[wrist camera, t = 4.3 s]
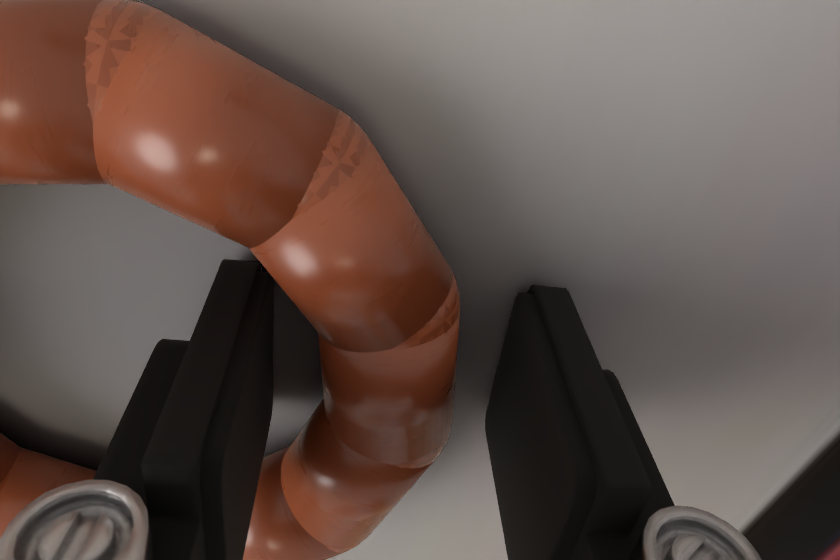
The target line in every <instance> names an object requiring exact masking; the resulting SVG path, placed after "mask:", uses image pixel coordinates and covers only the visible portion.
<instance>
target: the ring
mask: <svg viewBox="0 0 840 560" xmlns="http://www.w3.org/2000/svg"><path fill="white" fill-rule="evenodd" d="M0 184H110V185H112V186H114V187H116V188H119V189H121V190H123V191H125V192H127V193H130V194H132V195H134V196H136V197H138V198H141V199H143V200H145V201H147V202H149V203H152V204H154V205H156V206H158V207H160V208H163V209H165V210H167V211H169V212H171V213H174V214H176V215H178V216H180V217H182V218H185V219H187V220H189V221H191V222H193V223H196V224H198V225H200V226H202V227H204V228H207V229H209V230H211V231H213V232H215V233H218V234H220V235H222V236H224V237H226V238H229V239H231V240H233V241H235V242H237V243H240V244H242V245H244V246H246V247H248V248H249V249H250V250H251V252H252V253H253V254H254V255H255V256H256V258H257V259H258V260H259V261H260V262H261V264H262V265H263V266H264V267H265V269H266V270H267V271H268V272H269V273H270V275H271V276H272V277H273V278H274V279H275V281H276V282H277V283H278V284H279V286H280V287H281V288H282V289H283V290H284V292H285V293H286V294H287V295H288V296H289V298H290V299H291V300H292V301H293V302H294V304H295V305H296V306H297V307H298V309H299V310H300V311H301V312H302V313H303V315H304V316H305V317H306V318H307V319H308V321H309V322H310V323H311V324H312V325H313V327H314V328H315V329H316V330H317V332H318V334H319V346H320V359H321V371H322V383H323V395H324V399H323V400H322V401H321V403H320V404H319V406H318V407H317V409H316V410H315V411H314V413H313V414H312V416H311V417H310V419H309V420H308V421H307V423H306V424H305V426H304V427H303V429H302V430H301V431H300V433H299V434H298V436H297V437H296V439H295V440H294V442H293V443H292V444H291V446H289V447H286V448H284V449H282V450H280V451H277V452H275V453H273V454H270V455H268V456H266V457H264V458H263V461H262V466H261V471H260V476H259V481H258V486H257V491H256V496H255V501H254V506H253V511H252V516H251V521H250V526H249V531H248V536H247V541H246V546H245V551H244V556H243V560H325V559H328V558H331V557H333V556H336V555H338V554H341V553H343V552H346V551H348V550H350V549H352V548H354V547H356V546H357V545H359V544H360V543H361V542H362V541H363V540H365V539H366V538H367V537H368V536H369V535H370V534H371V532H372V531H373V530H374V529H375V528H376V527H377V526H378V524H379V523H380V522H381V521H382V520H383V519H384V518H385V516H386V515H387V514H388V513H389V512H390V511H391V510H392V508H393V507H394V506H395V505H396V504H397V503H398V502H399V500H400V499H401V498H402V497H403V496H404V495H405V494H406V492H407V491H408V490H409V489H410V488H411V487H412V486H413V485H414V483H415V482H416V481H417V480H418V479H419V478H420V477H421V475H422V474H423V473H424V472H425V471H426V470H427V469H428V467H429V466H430V465H431V464H432V463H433V462H434V461H435V459H436V458H437V457H438V456H439V455H440V453H441V451H442V450H443V448H444V446H445V445H446V443H447V440H448V438H449V435H450V431H451V427H452V419H453V405H454V390H455V376H456V361H457V347H458V332H459V318H460V295H459V289H458V285H457V282H456V279H455V277H454V274H453V272H452V270H451V268H450V266H449V265H448V263H447V262H446V260H445V259H444V257H443V255H442V254H441V252H440V251H439V249H438V247H437V246H436V244H435V243H434V241H433V239H432V238H431V236H430V235H429V233H428V231H427V230H426V228H425V227H424V225H423V223H422V222H421V220H420V219H419V217H418V215H417V214H416V212H415V211H414V209H413V207H412V206H411V204H410V203H409V201H408V200H407V198H406V196H405V195H404V193H403V192H402V190H401V188H400V187H399V185H398V184H397V182H396V180H395V179H394V177H393V176H392V174H391V172H390V171H389V169H388V168H387V166H386V164H385V163H384V161H383V160H382V158H381V156H380V155H379V153H378V152H377V150H376V148H375V147H374V145H373V144H372V142H371V140H370V139H369V137H368V136H367V135H366V133H365V132H364V130H363V129H362V128H361V127H360V126H359V125H358V124H357V123H356V122H355V121H354V120H353V119H352V118H351V117H349V116H348V115H347V114H345V113H344V112H343V111H341V110H339V109H338V108H336V107H334V106H332V105H331V104H329V103H327V102H325V101H323V100H322V99H320V98H318V97H316V96H314V95H313V94H311V93H309V92H307V91H305V90H304V89H302V88H300V87H298V86H296V85H294V84H293V83H291V82H289V81H287V80H285V79H284V78H282V77H280V76H278V75H276V74H275V73H273V72H271V71H269V70H267V69H266V68H264V67H262V66H260V65H258V64H257V63H255V62H253V61H251V60H249V59H248V58H246V57H244V56H242V55H240V54H239V53H237V52H235V51H233V50H231V49H230V48H228V47H226V46H224V45H222V44H221V43H219V42H217V41H215V40H213V39H211V38H210V37H208V36H206V35H204V34H202V33H201V32H199V31H197V30H195V29H193V28H192V27H190V26H188V25H186V24H184V23H183V22H181V21H179V20H177V19H175V18H174V17H172V16H170V15H168V14H166V13H165V12H163V11H160V10H158V9H157V8H154V7H152V6H149V5H146V4H144V3H141V2H137V1H133V0H0ZM96 472H97V471H95V470H92V469H89V468H86V467H83V466H79V465H76V464H73V463H70V462H66V461H63V460H60V459H57V458H54V457H50V456H47V455H44V454H41V453H38V452H34V451H31V450H28V449H25V448H21V447H19V446H18V445H16V444H15V443H14V442H12V441H11V440H9V439H8V438H7V437H5V436H4V435H3V434H1V433H0V538H1V536H2V535H3V533H4V531H5V529H6V527H7V525H8V523H9V522H10V521H11V520H12V519H13V518H14V517H15V516H16V515H17V514H18V513H19V512H20V511H21V510H22V509H23V508H24V507H25V506H26V505H27V504H29V503H30V502H32V501H33V500H35V499H36V498H38V497H39V496H41V495H42V494H44V493H46V492H48V491H50V490H53V489H55V488H58V487H60V486H62V485H65V484H68V483H73V482H78V481H83V480H88V479H90V480H93V478H94V476H95V474H96Z"/></svg>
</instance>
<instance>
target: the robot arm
mask: <svg viewBox="0 0 840 560" xmlns="http://www.w3.org/2000/svg"><path fill="white" fill-rule="evenodd" d="M273 317H274V278H273V277H272V276H271V275H270V273H269V272H261V264H260V262H250V261H238V260H226V259H224V260H223V261H222V263H221V265H220V267H219V270H218V272H217V275H216V277H215V280H214V282H213V285H212V287H211V290H210V292H209V295H208V297H207V300H206V302H205V305H204V307H203V310H202V312H201V315H200V317H199V320H198V322H197V325H196V327H195V330H194V332H193V335H192V337H191V340H190V341H184V340H169V339H162V340H160V341H159V342H158V343H157V345H156V346H155V348H154V350H153V352H152V354H151V356H150V359H149V361H148V363H147V365H146V367H145V369H144V371H143V374H142V376H141V378H140V380H139V382H138V384H137V386H136V389H135V391H134V393H133V395H132V397H131V399H130V401H129V404H128V406H127V408H126V410H125V412H124V414H123V416H122V419H121V421H120V423H119V425H118V427H117V429H116V431H115V434H114V436H113V438H112V440H111V442H110V444H109V446H108V448H107V451H106V453H105V455H104V457H103V459H102V461H101V463H100V466H99V468H98V470H97V472H96V474H95V476H94V478H93V480H90V479H88V480H83V481H78V482H73V483H68V484H65V485H62V486H60V487H58V488H55V489H53V490H50V491H48V492H46V493H44V494H42V495H41V496H39V497H38V498H36V499H35V500H33V501H32V502H30V503H29V504H27V505H26V506H25V507H24V508H23V509H22V510H21V511H20V512H19V513H18V514H17V515H16V516H15V517H14V518H13V519H12V520H11V521H10V522H9V523H8V525H7V527H6V529H5V531H4V533H3V535H2V536H1V538H0V560H243V556H244V551H245V546H246V541H247V536H248V531H249V526H250V521H251V516H252V511H253V506H254V501H255V496H256V491H257V486H258V481H259V476H260V471H261V466H262V461H263V456H264V451H265V446H266V441H267V436H268V431H269V426H270V421H271V414H272V405H273ZM485 431H486V438H487V443H488V449H489V454H490V460H491V466H492V471H493V477H494V482H495V488H496V494H497V499H498V505H499V510H500V516H501V522H502V527H503V533H504V538H505V544H506V550H507V555H508V560H761V558H760V556H759V554H758V553H757V551H756V550H755V549H754V547H753V546H752V545H751V544H750V543H749V541H748V540H747V539H746V538H745V537H744V536H743V535H742V534H741V533H740V532H739V531H737V530H736V529H735V528H734V527H732V526H731V525H730V524H729V523H727V522H726V521H724V520H722V519H720V518H719V517H717V516H715V515H713V514H711V513H709V512H706V511H703V510H700V509H697V508H693V507H688V506H675V505H674V503H673V501H672V499H671V497H670V494H669V492H668V490H667V488H666V485H665V483H664V481H663V479H662V477H661V474H660V472H659V470H658V468H657V465H656V463H655V461H654V459H653V457H652V454H651V452H650V450H649V448H648V445H647V443H646V441H645V439H644V437H643V434H642V432H641V430H640V428H639V425H638V423H637V421H636V419H635V417H634V414H633V412H632V410H631V408H630V405H629V403H628V401H627V399H626V397H625V394H624V392H623V390H622V388H621V386H620V383H619V381H618V379H617V378H616V376H615V374H614V373H613V372H611V371H610V370H602V368H601V366H600V363H599V361H598V359H597V356H596V354H595V352H594V349H593V347H592V345H591V342H590V340H589V338H588V335H587V333H586V331H585V328H584V326H583V324H582V321H581V319H580V317H579V314H578V312H577V310H576V307H575V305H574V303H573V300H572V298H571V296H570V293H569V291H568V290H567V289H566V288H562V287H550V286H538V285H532V286H530V288H529V289H528V292H527V293H518V294H517V296H516V298H515V302H514V306H513V309H512V313H511V317H510V321H509V325H508V329H507V333H506V337H505V341H504V345H503V348H502V352H501V356H500V360H499V364H498V368H497V372H496V376H495V380H494V384H493V387H492V391H491V395H490V399H489V403H488V407H487V411H486V418H485Z"/></svg>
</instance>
